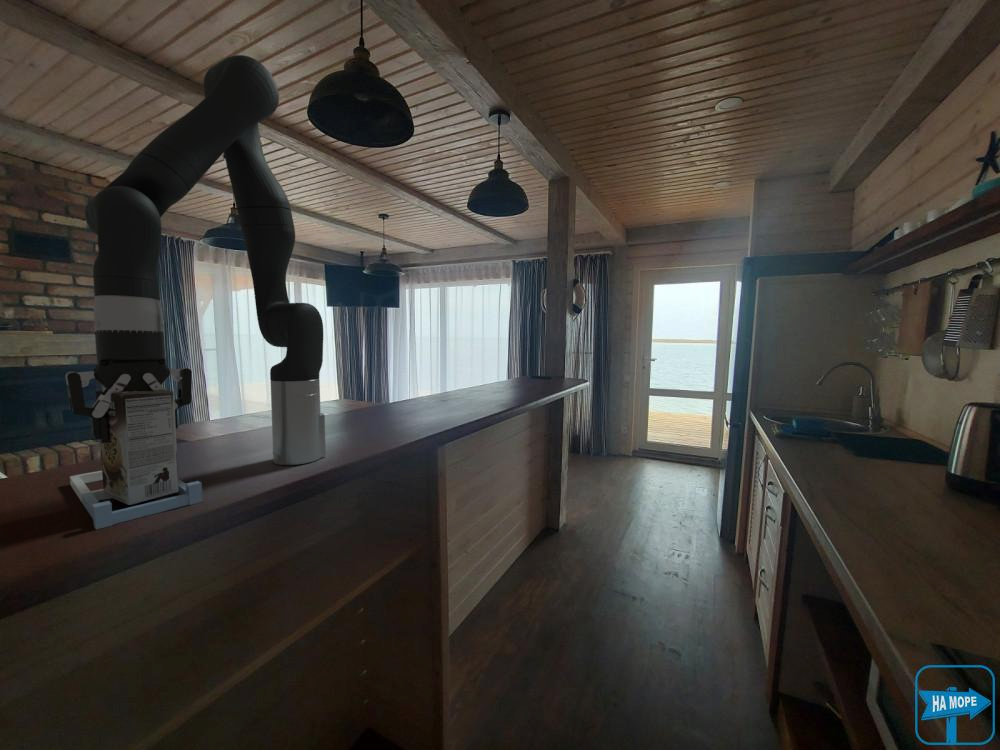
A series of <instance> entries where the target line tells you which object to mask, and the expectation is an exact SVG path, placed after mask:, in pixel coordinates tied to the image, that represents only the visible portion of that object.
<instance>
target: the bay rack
mask: <svg viewBox="0 0 1000 750" xmlns="http://www.w3.org/2000/svg"><path fill="white" fill-rule="evenodd" d="M98 481H103V476H102V470H97V471H92V472H86V473H81V474H75V475H70V476H69V485H70V487H71V488H72V490H73V491H74V493H75V494H76V496H77V497H78V499H79V501H80V502H81V503H82V505H83V507H84V508H85V509H86V511H87V512H88V514H89V515H90V517H91V518H92V521H93V528H95V530H100V529H103V528H108V527H111V526H113V525H116V524H121V523H124V522H128V521H132V520H136V519H138V518H139V519H140V518H142V517H143V518H144V517H147V516H151V515H154V514H158V513H162V512H166V511H171V510H173V509H177V508H182V507H186V506H191V505H195V504H199V503H203V485H202V482H201V481H199V480H196V481H191V482H188V483H185V482H184V481H183V480H181V479H180V478H178V488H179V491H178V492H176V493H175V494H177V495H175V496H171V497H167V498H163V499H159V500H155V501H150V502H147V503H143V504H138V505H133V506H130V507H126V508H122V509H117V510H116V509H115V510H113V509H112V508H113V506H112V505H113V504H112V502H111V501H110V499H113V498H112V497H110V496H107V495H105V494H104V488H100V489H95V490H90V488H88V486H87V485H86V484H88V483H94V482H98ZM104 500H105V501H104ZM100 501H102V502H100Z"/></svg>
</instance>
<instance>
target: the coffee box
mask: <svg viewBox="0 0 1000 750" xmlns="http://www.w3.org/2000/svg"><path fill="white" fill-rule="evenodd" d="M103 391H104V389H101V390H96V391H95V392H94V393H95V399H96V401H97V400H98V398H99V396H100V395H101V394H103V395H105V394H106V393H107V392H103ZM174 393H175V391H172V390H166V391H126V392H120V393H112V394H111V403H110V405H109V406H110V407H109V408H108V410H107V411H106V413H105V414H104V417H106V418H107V429H108V443H100V442H99V448H100V462H101V471H102V476H103V480H102V485H103V486H102V487H103V488H102V489H104V494H105V495H107V496H110V497H112V498H111V499H115V500H117V502H118V501H119V502H121V503H123V504H125V505H128V506H131V505H136V504H139V503H143V502H146V501H150V500H154V499H158V498H162V497H164V496H169V495H172V494H173V495H174V494H177V493H176V492H178V491H179V488H178V479H179V472H178V454H177V453H178V452H177V429H176V426H175V407H174V400H175V394H174Z"/></svg>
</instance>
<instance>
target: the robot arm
mask: <svg viewBox="0 0 1000 750" xmlns="http://www.w3.org/2000/svg"><path fill="white" fill-rule="evenodd" d="M203 91H204V92H203V93H204V99H202V100H201V101H200V102H199V103H198V104H197V105H196V106H195V107H194V108H192V109H191V110H190V111H189V112H187V113H186V114H184V115H183V116H182V117H180V118H178V119H177V120H176V121H174V123H173V122H172V124H170V125H169V126H168V127H166V128H165V129H164V130H163V131H162V132H160V133H159V134H158V135H157V136H156V137H154V139H152V140H151V141H149V143H148V144H147V145H146V146H145V147H144V148H143V149H141V151H140V152H138V154H136V156H134V158H133V159H132V161H131V162H130V163H129V164H128V165H127V168H126V169H125V170H124V171H123V172H122V173H121V174H120V175H118V176H117V177H116V178H115V179H113V180H112V181H111V182H110V183H109V184H107V186H105V187H104V188H102V190H100V191H99V192H98V193H97V194H95V195H94V196H93V197H92V198H91V199H89V201H88V202H87V204H86V206H85V209H84V218H85V222H86V223H87V225H88V227H89V229H90V230H91V231H92V232H93V233H94V234H95V235H97V247H98V253H97V255H96V257H95V260H94V262H93V269H92V272H93V273H92V274H93V276H92V277H93V290H94V292H93V293H94V304H93V323H94V324H93V325H94V339H95V353H96V354H95V355H96V366H95V368H94V369H93V370H91V371H82V372H75V371H68V372H66V373H65V375H64V377H65V383H66V390H67V396H68V401H69V402H68V403H69V407H70V412H71V413H73V414H74V415H76V416H83V417H89V418H90V424H91V425H90V426H91V436H92V438H93V439H94V440H95V441H98V442H99V444H100V443H108V429H107V418H106V417H104V414H105V413H106V411H107V410H108V408H109V407H110V406H109V405H110V403H111V394H112V393H120V392H126V391H167V390H166V389H165V388H164V387H163V384H164V382H166V380H167V379H168V378H169V377H170V376H172V379H173V380H174V381H175V382H177V398H174V407H175V426H176V430H177V429H178V427H179V420H178V409H180V408H181V407H184V406H187V405H190V404H191V402H192V384H193V383H192V382H193V381H192V376H193V375H192V372H193V371H192V369H190V368H187V367H180V368H170V367H168V365H167V363H166V352H165V351H166V349H165V348H166V347H165V332H164V330H165V323H164V318H163V317H164V316H163V315H164V314H163V311H162V307H161V302H160V300H161V299H160V297H161V296H160V284H159V282H160V281H159V276H158V265H159V259H160V252H161V244H162V243H161V242H162V231H163V230H162V221H161V218H162V216H163V215H164V214H165V213H166V212H167V211H168V210H169V208H171V207H172V206H174V205H175V204H176V203H178V202H179V201H181V200H182V199H184V197H186V195H188V194H189V192H190V191H191V190H193V188H194V187H195V186H196V184H198V182H199V181H201V179H202V178H203V176H205V174H206V173H207V172H208V171H209V170H210V169H211V168H212V166H213V165H214V164H215V163H216V162H217V160H219V158H220V157H221V156H222V155H223V154H224V155H223V156H224V160H225V164H226V168H227V169H226V170H227V173H228V177H229V181H230V185H231V189H232V193H233V198H234V202H235V208H236V212H237V213H236V214H237V218H238V222H239V225H240V230H241V233H242V237H243V241H244V244H245V245H244V246H245V249H246V254H247V259H248V264H249V268H250V273H251V274H250V275H251V278H252V285H253V291H254V293H253V294H254V302H255V310H256V316H257V317H256V319H257V324H258V327H259V332H260V334H261V336H262V337H263V339H264V340H265V341H266V342H267V343H268V344H269V345H270V346H272V347H276V348H286V352H285V353H286V354H285V357H284V358H283V359H282V360H281V361H280V362H278V363H276V364H275V365H273V366H271V367H270V371H269V375H270V376H269V379H270V381H269V382H270V403H271V406H270V407H271V430H272V431H271V432H272V433H271V434H272V435H271V436H272V455H273V456H272V461H273V463H274V464H275V465H280V466H295V465H303V464H309V463H312V462H315V461H318V460H319V459H322V458H325V457H326V456H327V455H326V453H327V450H326V448H327V447H326V416H325V413H324V412H321V390H320V388H321V387H320V385H321V384H320V374H321V373H320V372H321V369H322V366H323V361H324V359H323V358H324V323H323V318H322V316H321V315H322V314H321V313H320V312H319V310H318V309H317V307H316V306H314V305H313V304H311V303H306V302H290V299H289V294H288V290H287V271H288V267H289V265H290V264H289V263H290V261H291V257H292V253H293V252H294V251H293V250H294V248H295V243H296V242H295V241H296V230H295V229H296V228H295V224H294V219H293V214H292V213H293V212H292V208H291V205H290V200H289V198H288V195H287V194H286V192H285V190H284V188H283V187H282V185H281V183H280V182H279V181H278V179H277V177H276V176H275V174H274V173H273V171H272V169H271V168H270V166H269V164H268V162H267V160H266V157H265V154H264V151H263V146H262V141H261V137H260V130H259V122H261V121H264V120H266V119H269V118H270V117H272V115H273V114H274V113H275V112H276V110H277V108H278V106H279V102H280V93H279V88H278V86H277V83H276V81H275V79H274V77H273V75H272V73H271V72H270V71H269V70H268V69H267V67H266V66H264V65H263V64H262V63H261V62H260V61H259V60H257V59H255V58H254V57H250V56H248V55H243V54H240V55H239V54H235V55H231V56H228V57H226V58H224V59H223V60H221V61H219V62H218V63H216V64H214V65H213V66H211V67H209V69H207V71H206V73H205V74H204V77H203ZM92 379H94V380H96V381H97V382H98V383H99V384H101V385H102V386H103V387H104V389H103V390H104V391H103V392H107V393H106V394H105V395H103V394H101V395H100V396H99V398H98V400H97V401H96V402H94V404H93V405H92V406H86V403H85V397H84V396H85V395H84V390H83V388H85V387H88V386H89V384H90V380H92Z"/></svg>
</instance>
